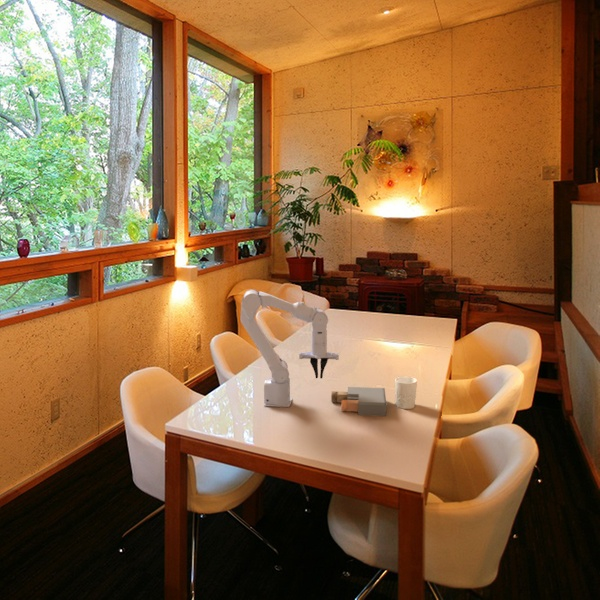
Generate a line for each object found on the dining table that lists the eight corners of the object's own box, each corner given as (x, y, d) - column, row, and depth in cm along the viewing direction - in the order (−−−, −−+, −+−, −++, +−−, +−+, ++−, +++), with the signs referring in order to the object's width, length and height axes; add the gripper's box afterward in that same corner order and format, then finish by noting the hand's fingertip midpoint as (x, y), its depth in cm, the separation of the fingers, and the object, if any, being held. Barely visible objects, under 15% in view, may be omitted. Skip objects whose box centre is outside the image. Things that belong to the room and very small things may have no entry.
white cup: (400, 411, 185) (401, 384, 183) (390, 402, 193) (391, 377, 191) (420, 408, 187) (421, 382, 185) (409, 400, 195) (410, 375, 193)
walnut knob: (331, 403, 192) (331, 393, 192) (332, 399, 196) (332, 389, 195) (361, 404, 191) (361, 394, 190) (361, 400, 195) (361, 390, 194)
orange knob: (341, 412, 184) (341, 402, 183) (341, 408, 188) (341, 398, 187) (372, 413, 183) (372, 403, 182) (372, 409, 186) (372, 399, 186)
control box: (346, 414, 183) (346, 401, 182) (348, 399, 197) (348, 386, 196) (385, 416, 181) (386, 402, 180) (384, 400, 195) (384, 388, 194)
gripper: (298, 344, 187) (298, 380, 190) (338, 345, 186) (338, 381, 188) (300, 339, 194) (300, 374, 197) (339, 340, 193) (339, 375, 195)
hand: (319, 377), depth 193 cm, fingers closed
